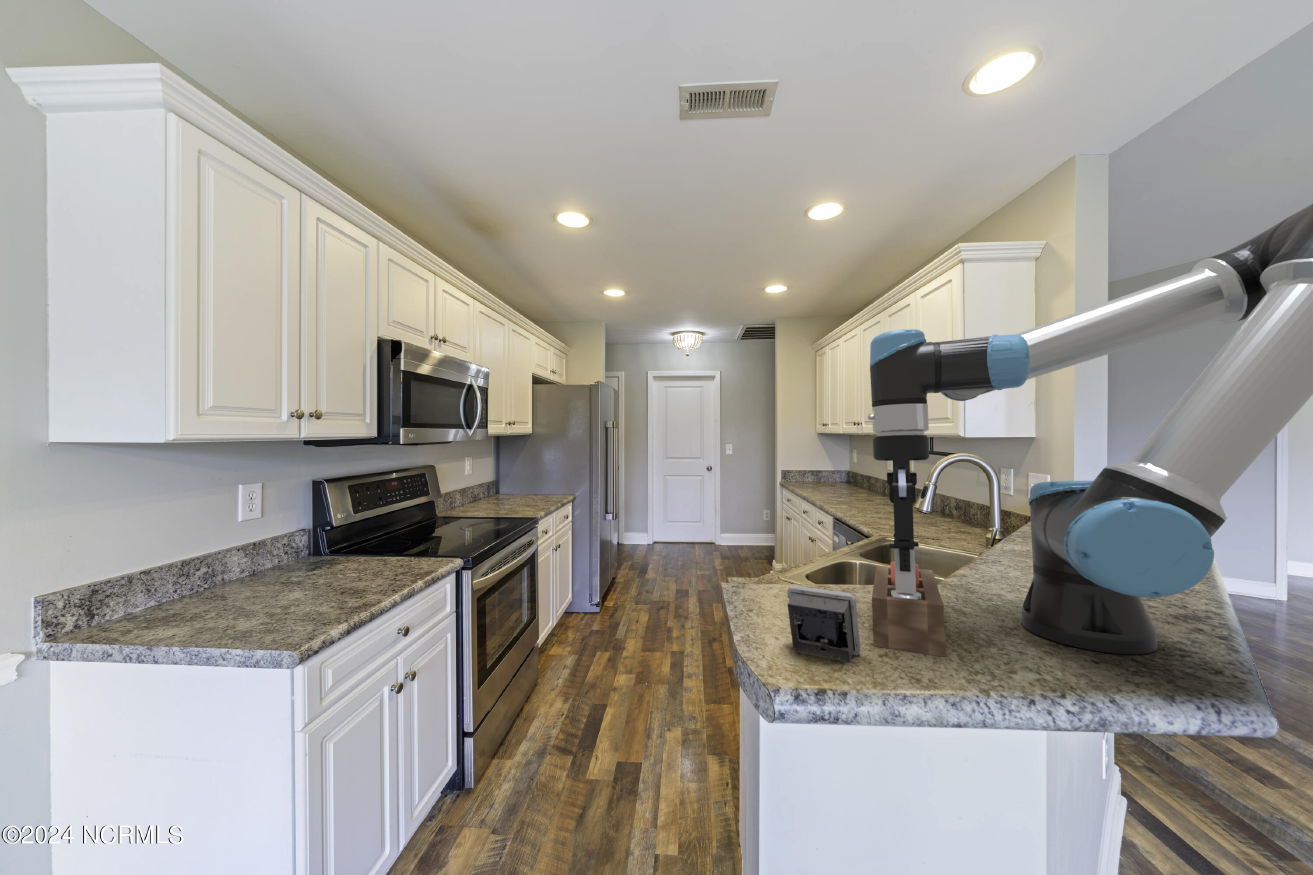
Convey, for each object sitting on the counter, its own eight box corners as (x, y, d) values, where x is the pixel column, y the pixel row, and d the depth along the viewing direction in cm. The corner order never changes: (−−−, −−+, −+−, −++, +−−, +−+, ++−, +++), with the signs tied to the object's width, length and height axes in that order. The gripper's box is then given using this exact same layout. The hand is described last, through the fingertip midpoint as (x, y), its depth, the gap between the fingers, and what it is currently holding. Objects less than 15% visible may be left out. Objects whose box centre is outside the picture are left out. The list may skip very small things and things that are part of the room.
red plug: (919, 599, 77) (917, 562, 77) (920, 606, 73) (919, 567, 73) (891, 596, 78) (890, 560, 79) (891, 603, 75) (890, 565, 75)
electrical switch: (861, 654, 66) (858, 589, 65) (855, 672, 61) (851, 603, 61) (795, 641, 71) (791, 580, 70) (784, 657, 66) (780, 593, 66)
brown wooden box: (934, 609, 83) (932, 570, 83) (945, 656, 64) (943, 605, 64) (877, 603, 87) (876, 565, 87) (873, 645, 68) (871, 597, 68)
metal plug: (922, 630, 71) (920, 590, 71) (923, 640, 67) (921, 598, 67) (892, 627, 72) (891, 587, 73) (892, 636, 69) (890, 595, 69)
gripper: (874, 436, 78) (879, 578, 78) (870, 434, 67) (876, 601, 66) (925, 434, 75) (931, 583, 74) (931, 432, 63) (938, 608, 63)
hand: (905, 591), depth 70 cm, fingers closed
